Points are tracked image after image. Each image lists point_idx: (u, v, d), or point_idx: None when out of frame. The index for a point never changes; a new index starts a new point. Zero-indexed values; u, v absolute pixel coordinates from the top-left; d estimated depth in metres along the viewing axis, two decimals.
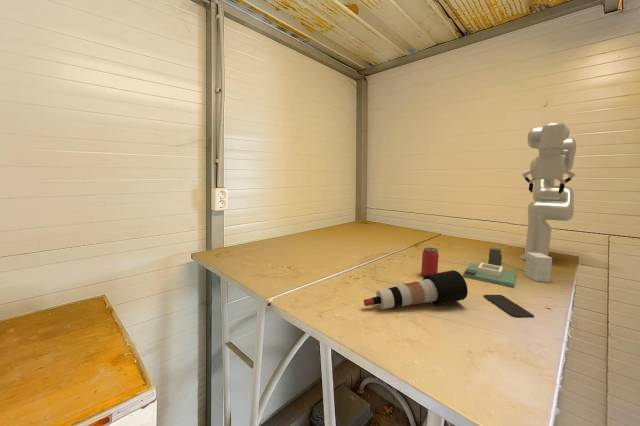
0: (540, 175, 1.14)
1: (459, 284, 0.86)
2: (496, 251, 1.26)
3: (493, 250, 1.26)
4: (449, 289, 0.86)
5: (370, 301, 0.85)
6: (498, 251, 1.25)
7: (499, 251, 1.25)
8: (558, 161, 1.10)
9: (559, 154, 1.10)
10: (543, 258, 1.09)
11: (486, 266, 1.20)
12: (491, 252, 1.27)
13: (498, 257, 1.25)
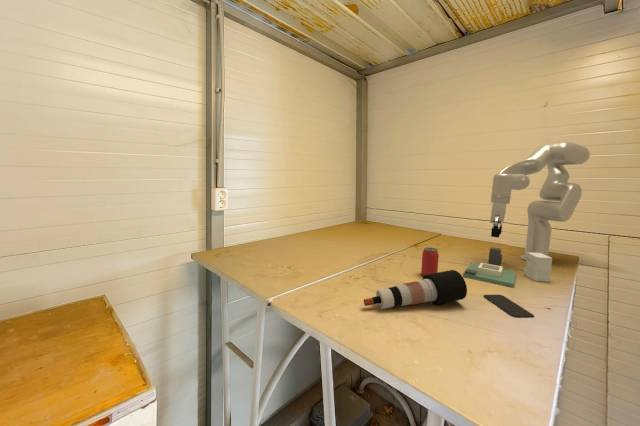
0: (503, 221, 1.22)
1: (458, 284, 0.87)
2: (496, 251, 1.26)
3: (493, 250, 1.26)
4: (448, 288, 0.86)
5: (370, 301, 0.85)
6: (498, 251, 1.25)
7: (499, 251, 1.25)
8: None
9: None
10: (543, 258, 1.09)
11: (486, 266, 1.20)
12: (491, 252, 1.27)
13: (498, 257, 1.25)
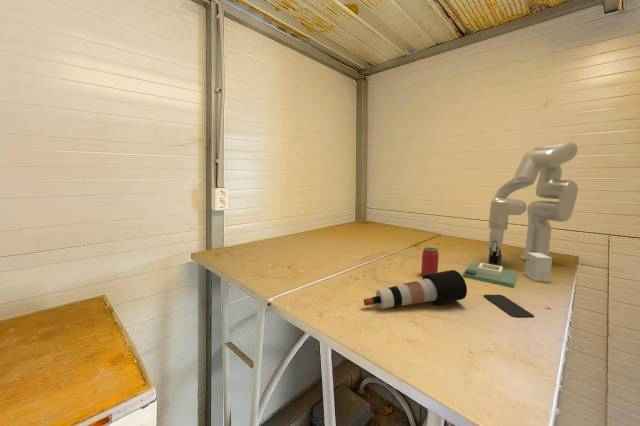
0: None
1: (458, 284, 0.87)
2: None
3: None
4: (448, 288, 0.86)
5: (370, 301, 0.85)
6: (498, 251, 1.25)
7: (499, 251, 1.25)
8: None
9: None
10: (543, 258, 1.09)
11: (486, 266, 1.20)
12: None
13: (498, 257, 1.25)
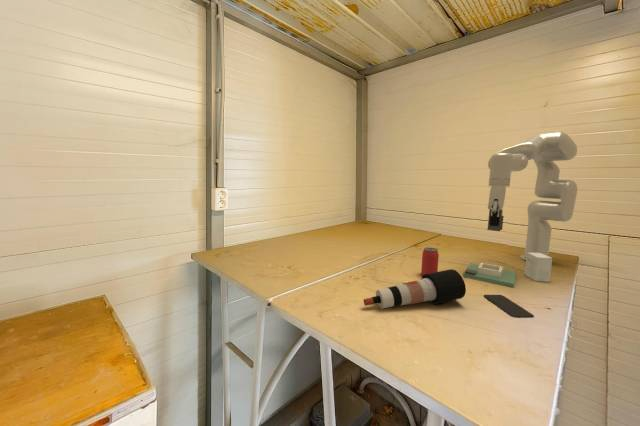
0: (502, 205, 1.10)
1: (457, 283, 0.87)
2: None
3: None
4: (447, 288, 0.87)
5: (370, 301, 0.86)
6: (499, 211, 1.11)
7: (500, 211, 1.11)
8: None
9: None
10: (543, 258, 1.09)
11: (486, 266, 1.20)
12: None
13: (499, 218, 1.11)
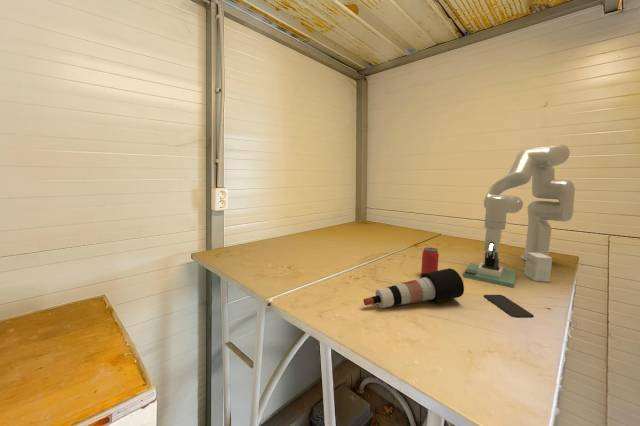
0: (498, 248, 1.12)
1: (455, 282, 0.88)
2: None
3: None
4: (446, 286, 0.87)
5: (370, 300, 0.86)
6: None
7: (495, 255, 1.12)
8: None
9: None
10: (543, 258, 1.09)
11: None
12: None
13: None
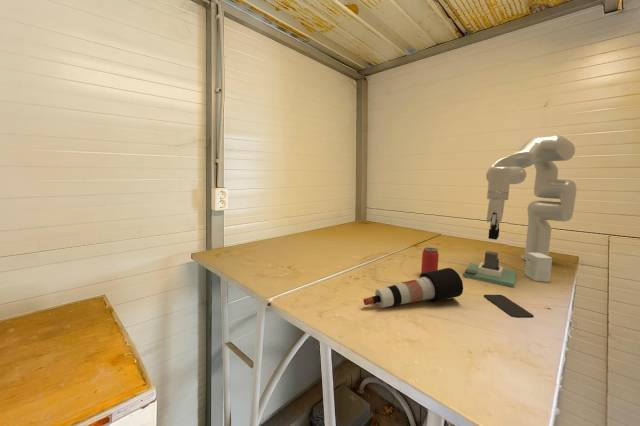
0: (501, 219, 1.10)
1: (455, 281, 0.89)
2: (492, 255, 1.13)
3: (489, 254, 1.14)
4: (445, 286, 0.88)
5: (370, 300, 0.86)
6: (494, 255, 1.13)
7: (495, 255, 1.12)
8: None
9: None
10: (543, 258, 1.09)
11: None
12: (487, 256, 1.14)
13: (494, 262, 1.13)
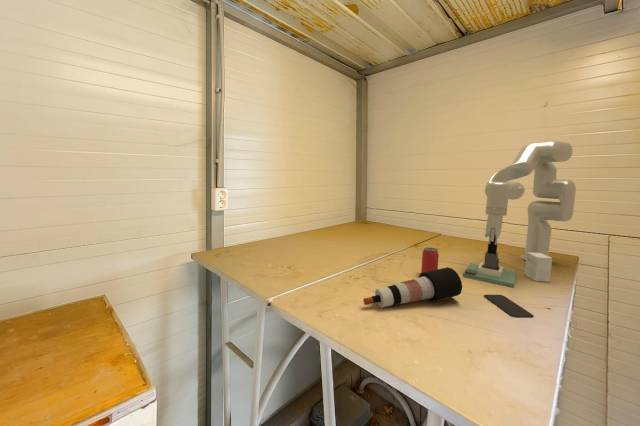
0: (499, 234, 1.11)
1: (454, 281, 0.89)
2: (492, 255, 1.13)
3: (489, 254, 1.14)
4: (445, 285, 0.88)
5: (370, 300, 0.86)
6: (494, 256, 1.12)
7: (495, 256, 1.12)
8: None
9: None
10: (543, 258, 1.09)
11: None
12: (487, 257, 1.14)
13: (494, 262, 1.13)
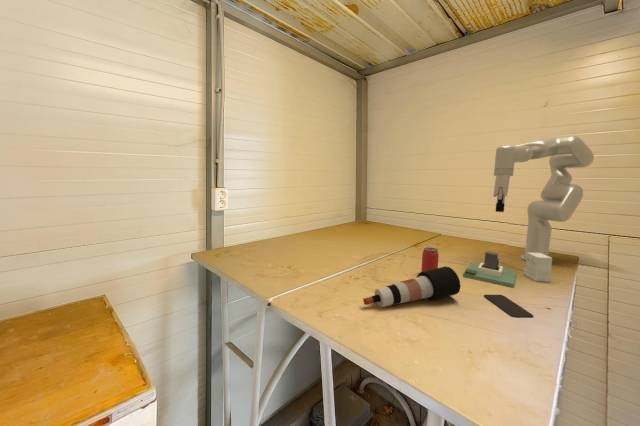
0: (506, 193, 1.22)
1: (452, 280, 0.90)
2: (492, 255, 1.13)
3: (489, 254, 1.14)
4: (443, 284, 0.89)
5: (370, 300, 0.86)
6: (494, 255, 1.13)
7: (495, 255, 1.12)
8: None
9: None
10: (543, 258, 1.09)
11: None
12: (487, 256, 1.14)
13: (494, 262, 1.13)
